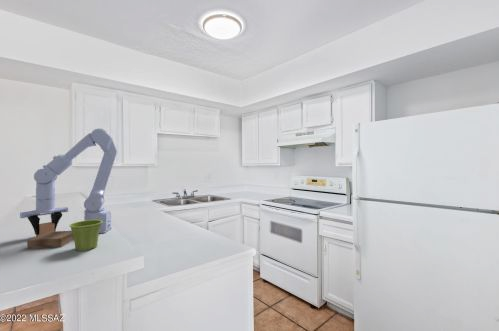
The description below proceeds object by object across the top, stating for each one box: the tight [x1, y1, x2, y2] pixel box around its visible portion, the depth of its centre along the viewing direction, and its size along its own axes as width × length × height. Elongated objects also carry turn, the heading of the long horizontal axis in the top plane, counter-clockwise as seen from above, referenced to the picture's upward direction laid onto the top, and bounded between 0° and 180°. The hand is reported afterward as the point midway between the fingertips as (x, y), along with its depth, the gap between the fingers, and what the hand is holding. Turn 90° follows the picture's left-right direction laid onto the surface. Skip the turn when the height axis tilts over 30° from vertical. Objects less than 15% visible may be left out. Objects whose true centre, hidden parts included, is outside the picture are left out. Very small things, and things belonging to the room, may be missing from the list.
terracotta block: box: [35, 221, 55, 237], centre depth 93 cm, size 4×4×5 cm
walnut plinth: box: [26, 230, 74, 250], centre depth 85 cm, size 10×10×3 cm
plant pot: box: [69, 220, 102, 252], centre depth 80 cm, size 9×9×9 cm
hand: (45, 232), depth 93 cm, fingers closed on terracotta block, 4 cm apart
